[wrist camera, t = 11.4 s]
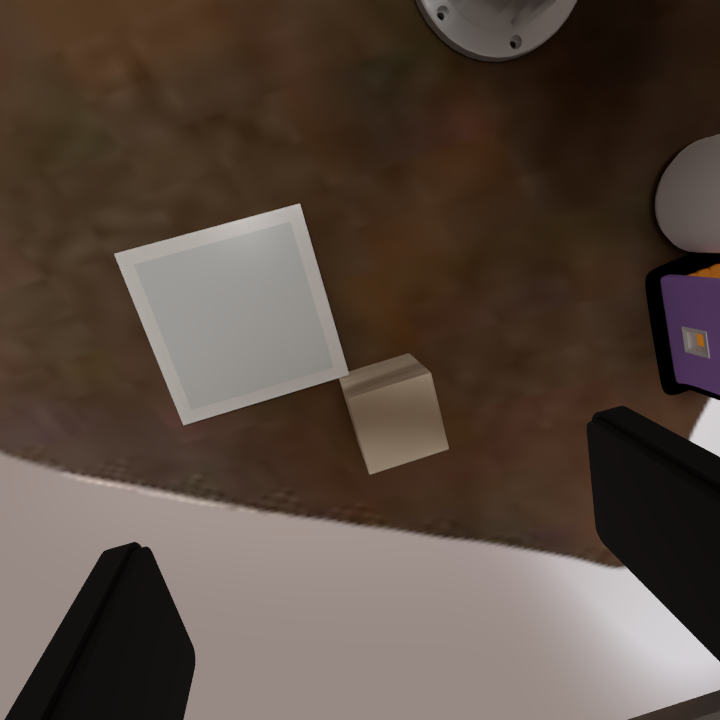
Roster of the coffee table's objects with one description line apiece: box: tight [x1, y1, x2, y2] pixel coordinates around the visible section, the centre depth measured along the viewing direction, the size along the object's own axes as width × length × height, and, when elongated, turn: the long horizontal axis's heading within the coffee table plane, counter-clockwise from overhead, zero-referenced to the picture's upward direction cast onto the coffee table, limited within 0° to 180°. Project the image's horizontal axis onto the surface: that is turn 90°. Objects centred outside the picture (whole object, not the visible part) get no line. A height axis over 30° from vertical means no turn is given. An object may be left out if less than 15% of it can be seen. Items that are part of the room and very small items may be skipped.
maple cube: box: [339, 353, 449, 475], centre depth 36 cm, size 6×6×6 cm
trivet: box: [114, 204, 349, 425], centre depth 34 cm, size 13×13×1 cm
